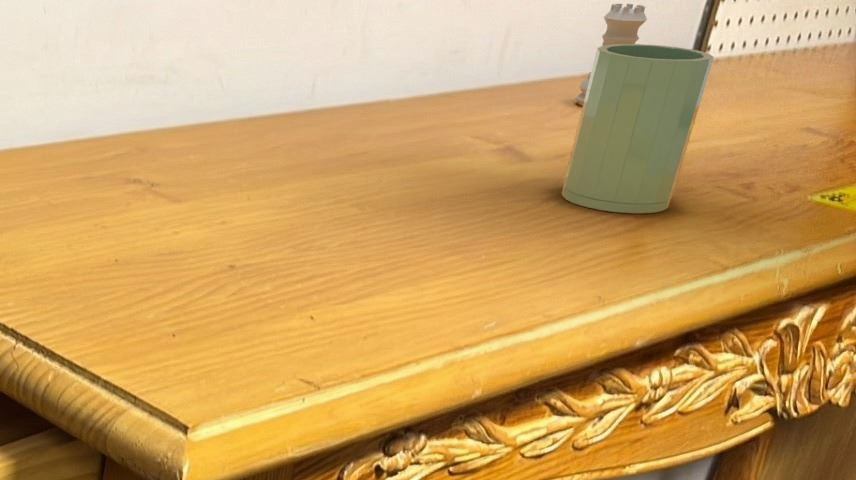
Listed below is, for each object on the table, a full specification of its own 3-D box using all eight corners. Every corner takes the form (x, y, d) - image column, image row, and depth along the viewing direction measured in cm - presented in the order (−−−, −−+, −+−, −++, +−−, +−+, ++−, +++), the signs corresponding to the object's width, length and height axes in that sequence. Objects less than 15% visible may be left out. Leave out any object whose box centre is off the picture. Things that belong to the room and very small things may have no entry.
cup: (657, 192, 80) (700, 47, 75) (677, 217, 74) (724, 63, 70) (555, 184, 81) (591, 41, 77) (567, 208, 76) (606, 57, 72)
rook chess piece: (621, 113, 102) (649, 10, 98) (566, 105, 104) (591, 5, 100) (638, 105, 105) (665, 5, 101) (584, 98, 107) (609, 0, 103)
